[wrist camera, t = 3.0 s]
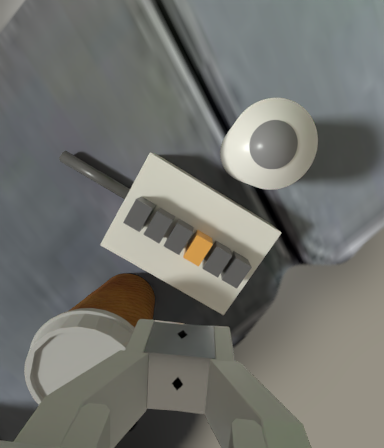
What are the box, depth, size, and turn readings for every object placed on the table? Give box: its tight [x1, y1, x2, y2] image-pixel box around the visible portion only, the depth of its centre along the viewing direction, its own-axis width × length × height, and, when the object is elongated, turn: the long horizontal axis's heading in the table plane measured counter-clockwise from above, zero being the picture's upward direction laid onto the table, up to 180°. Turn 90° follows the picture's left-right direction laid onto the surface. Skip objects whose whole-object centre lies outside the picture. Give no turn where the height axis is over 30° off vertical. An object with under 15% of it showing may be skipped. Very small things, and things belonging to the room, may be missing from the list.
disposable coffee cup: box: [24, 274, 155, 405], centre depth 25 cm, size 10×10×12 cm
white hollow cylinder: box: [220, 98, 318, 190], centre depth 22 cm, size 6×6×9 cm
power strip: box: [60, 151, 281, 315], centre depth 25 cm, size 10×22×6 cm, turn 59°
